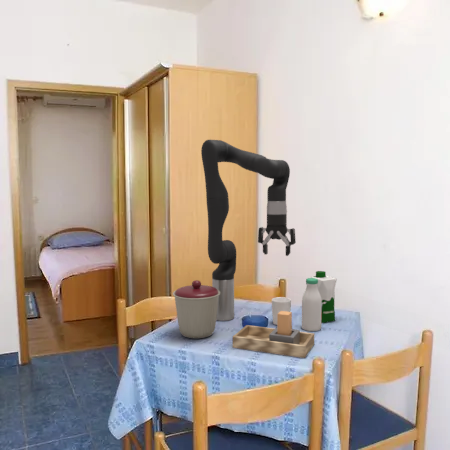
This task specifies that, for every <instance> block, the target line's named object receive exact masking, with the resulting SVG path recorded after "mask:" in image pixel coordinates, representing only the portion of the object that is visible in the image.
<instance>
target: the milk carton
mask: <svg viewBox="0 0 450 450" xmlns="http://www.w3.org/2000/svg"><path fill="white" fill-rule="evenodd" d="M310 278H316V279H318V285H317V288H318V291H319V293H320V296H321V301H322V321H321V324H323V323H331V322H335V321H336V317H335V315H336V314H335V289H336V284H337V280H338V279H337V278H336V277H334V276H330V275H327V274H326V271H322V270H317V271H315V276H310Z"/></svg>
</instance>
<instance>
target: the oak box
mask: <svg viewBox="0 0 450 450" xmlns="http://www.w3.org/2000/svg"><path fill="white" fill-rule="evenodd" d="M274 329H275V328H274V327H266V326H257V325H249V324H246V325H245V326H243V328H241V329H240V330H239V331H238V332H237V333H235V334H234V335H233V336H232V348H234V349H239V350H247V351H254V352H258V353H259V352H260V353H268V354H273V355H274V354H275V355H282V356H287V357H295V358H301V359H302V358H303V359H305V358H306V357H307V356H308V355H309V352H310V351H311V350H312V348H313V347H314V345H315V333H314V332H307V331H306V332H305V331H300V344H299V345H298V344H291V343H283V342H276V341H269V334H270V333H271V332H272V331H273V330H274Z"/></svg>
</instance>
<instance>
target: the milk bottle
mask: <svg viewBox="0 0 450 450" xmlns="http://www.w3.org/2000/svg"><path fill="white" fill-rule="evenodd" d="M305 279H306V280H305V285H306V286H305V291H304V293H303V295H302V299H301V328H302V330H304V331H306V332H307V331H308V332H317V331H320V330H322V329H321V328H322V323H321V321H322V301H321V296H320V293H319V291H318V288H317V285H318V279H316V278H311V277H307V278H305Z"/></svg>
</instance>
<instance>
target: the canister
mask: <svg viewBox="0 0 450 450" xmlns="http://www.w3.org/2000/svg"><path fill="white" fill-rule="evenodd" d="M219 295H220V291H219V290H217V289H216V288H214V287H212V286H210V285H205V284H202V282H201V281H200V280H198V279H196V280H193V281H192V282H191V285H185V286H182V287H179V288H177V289H176V290H174V291H173V292H172V296H173V297H174V301H175V309H176V310H175V311H176V317H177V323H178V329H179V333H180V334H181V335H182V336H183V337H185V338H189V339H203V338H207V337H210V336H211V335H213V333H214V332H215V331H216V330H215V329H216V325H217V320H216V317H217V308H218V297H219Z"/></svg>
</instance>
